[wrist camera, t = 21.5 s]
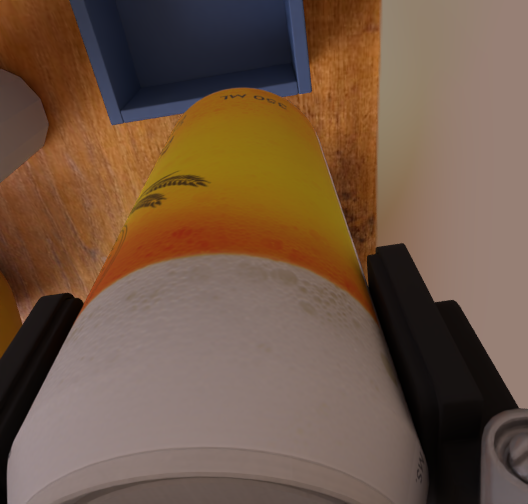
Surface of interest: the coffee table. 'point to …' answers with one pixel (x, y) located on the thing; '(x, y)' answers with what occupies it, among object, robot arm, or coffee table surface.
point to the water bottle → (19, 123)
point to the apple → (7, 315)
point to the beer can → (226, 339)
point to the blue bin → (190, 51)
